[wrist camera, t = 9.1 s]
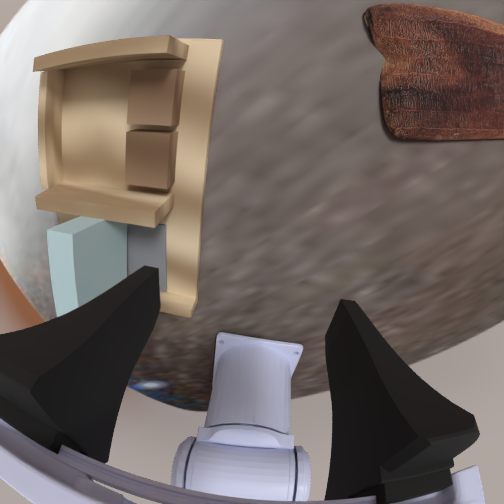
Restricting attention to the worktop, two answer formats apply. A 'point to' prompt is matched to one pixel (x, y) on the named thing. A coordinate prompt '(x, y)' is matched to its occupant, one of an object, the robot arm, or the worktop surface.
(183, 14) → the worktop surface
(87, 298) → the panel
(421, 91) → the wooden tablet
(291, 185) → the worktop surface
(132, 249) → the felt pad
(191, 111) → the rack
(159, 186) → the offcut
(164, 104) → the offcut
